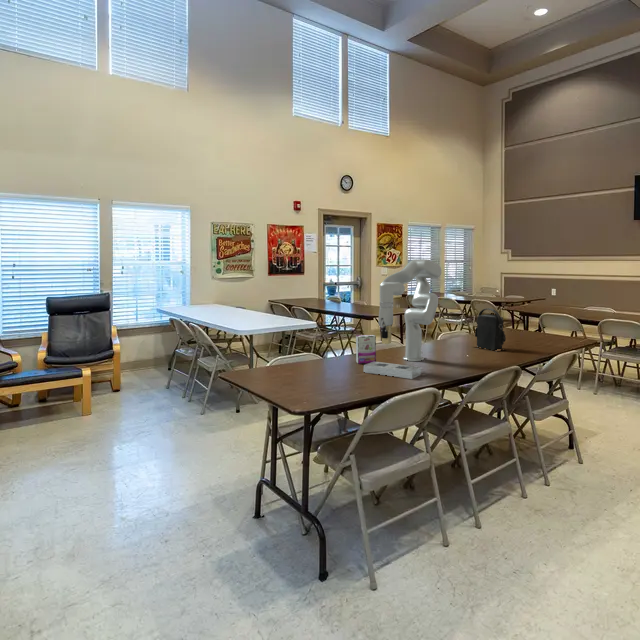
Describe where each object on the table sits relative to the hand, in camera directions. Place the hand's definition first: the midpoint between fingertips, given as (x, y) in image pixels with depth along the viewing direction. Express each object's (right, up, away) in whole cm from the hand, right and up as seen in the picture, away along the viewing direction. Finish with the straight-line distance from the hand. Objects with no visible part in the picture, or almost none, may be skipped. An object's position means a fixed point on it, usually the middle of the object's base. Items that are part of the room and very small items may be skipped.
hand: (386, 337), depth 265 cm
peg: (0, -3, 0) cm, 3 cm away
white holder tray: (+1, -19, -12) cm, 23 cm away
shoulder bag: (+78, -10, +58) cm, 98 cm away
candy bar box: (-10, -16, +16) cm, 24 cm away
